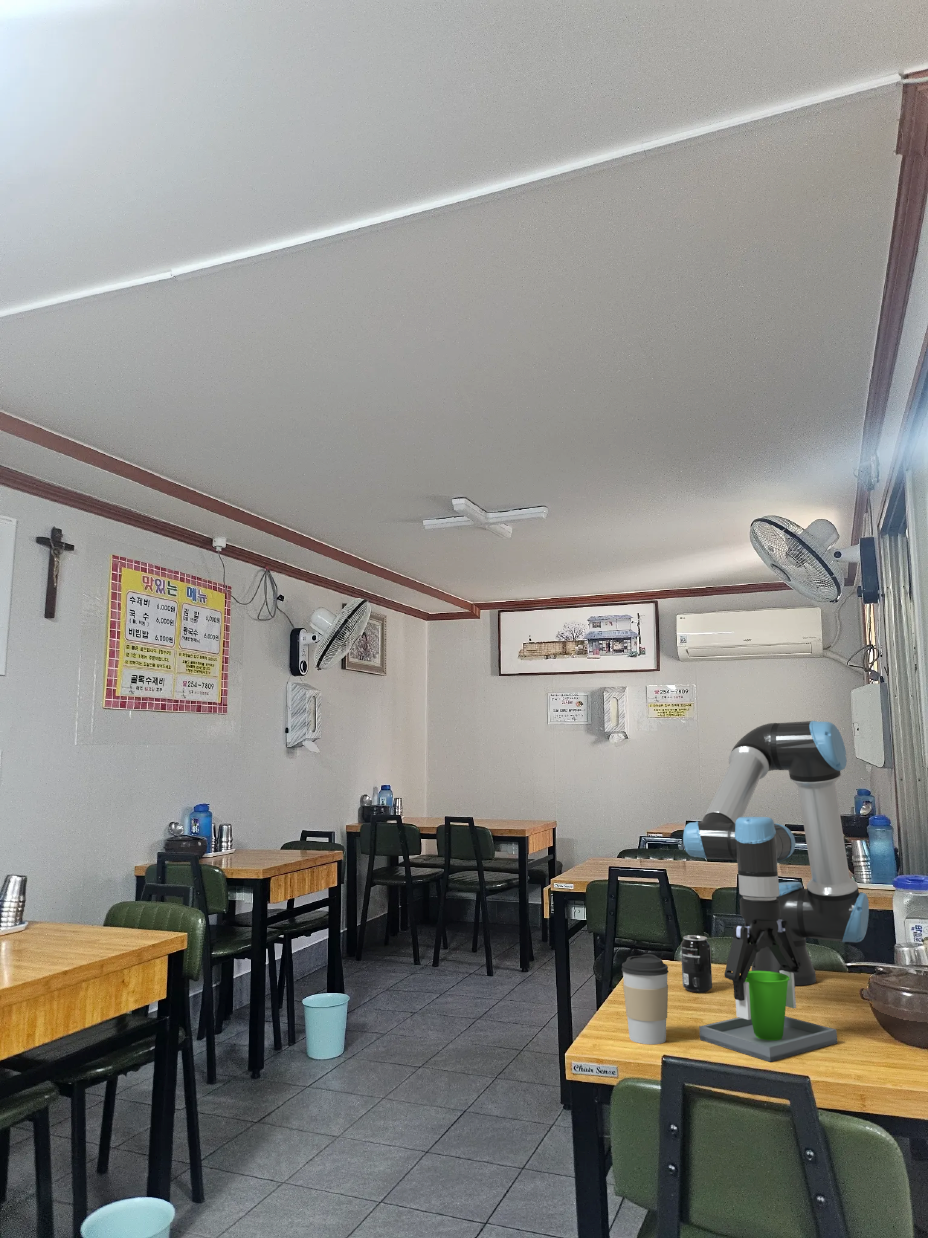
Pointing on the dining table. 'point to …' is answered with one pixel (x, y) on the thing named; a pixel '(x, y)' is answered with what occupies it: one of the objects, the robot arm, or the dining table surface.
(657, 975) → the coffee cup
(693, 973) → the beverage can
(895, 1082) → the dining table surface
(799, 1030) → the tray
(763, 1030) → the cup
